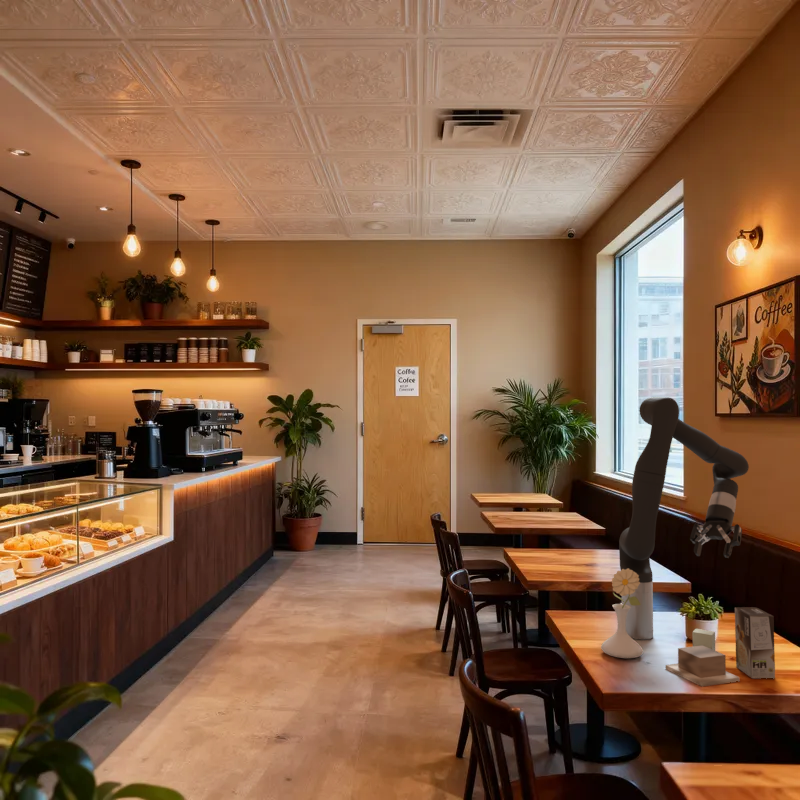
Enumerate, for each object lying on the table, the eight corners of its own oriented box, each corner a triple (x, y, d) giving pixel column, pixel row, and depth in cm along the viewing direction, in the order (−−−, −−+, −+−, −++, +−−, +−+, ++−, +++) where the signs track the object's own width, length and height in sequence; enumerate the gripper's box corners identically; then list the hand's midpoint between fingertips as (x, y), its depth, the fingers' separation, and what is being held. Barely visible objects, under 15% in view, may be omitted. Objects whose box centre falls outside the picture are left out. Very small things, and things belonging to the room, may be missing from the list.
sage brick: (692, 661, 184) (692, 631, 184) (696, 657, 187) (695, 628, 187) (712, 664, 181) (711, 635, 181) (715, 660, 184) (715, 631, 184)
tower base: (665, 668, 177) (665, 646, 178) (701, 664, 181) (701, 641, 181) (701, 686, 165) (701, 662, 165) (739, 681, 169) (739, 657, 169)
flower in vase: (592, 651, 191) (591, 564, 192) (624, 646, 195) (623, 561, 197) (623, 666, 179) (622, 573, 180) (656, 661, 183) (655, 570, 185)
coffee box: (776, 679, 170) (775, 616, 171) (751, 678, 170) (750, 615, 171) (758, 666, 179) (757, 606, 180) (734, 666, 180) (733, 606, 180)
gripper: (693, 503, 210) (682, 547, 202) (740, 503, 199) (730, 550, 191) (703, 516, 213) (693, 560, 205) (749, 516, 202) (740, 563, 194)
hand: (711, 555), depth 198 cm, fingers open, 8 cm apart
